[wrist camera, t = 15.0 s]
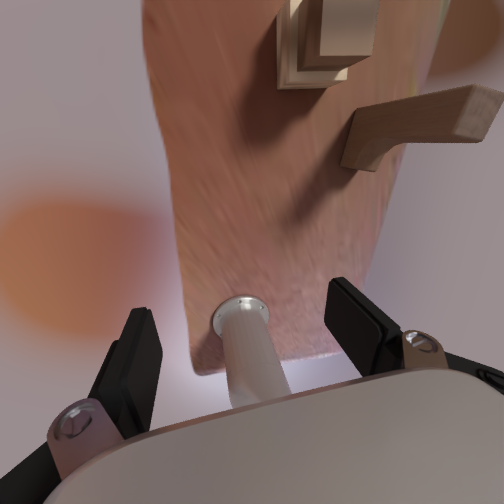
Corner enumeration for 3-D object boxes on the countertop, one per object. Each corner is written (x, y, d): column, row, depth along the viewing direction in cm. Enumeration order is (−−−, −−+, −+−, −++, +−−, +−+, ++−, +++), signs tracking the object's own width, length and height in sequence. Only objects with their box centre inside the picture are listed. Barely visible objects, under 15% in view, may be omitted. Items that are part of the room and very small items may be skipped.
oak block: (327, 87, 34) (346, 80, 30) (277, 89, 33) (289, 81, 28) (332, 16, 30) (355, -5, 26) (276, 14, 29) (290, -8, 25)
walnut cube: (340, 70, 29) (371, 55, 24) (296, 71, 28) (319, 55, 23) (346, 7, 26) (383, -27, 21) (298, 5, 25) (325, -31, 20)
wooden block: (359, 169, 41) (460, 187, 25) (338, 166, 40) (430, 182, 24) (378, 113, 37) (510, 92, 22) (355, 107, 36) (477, 81, 20)
